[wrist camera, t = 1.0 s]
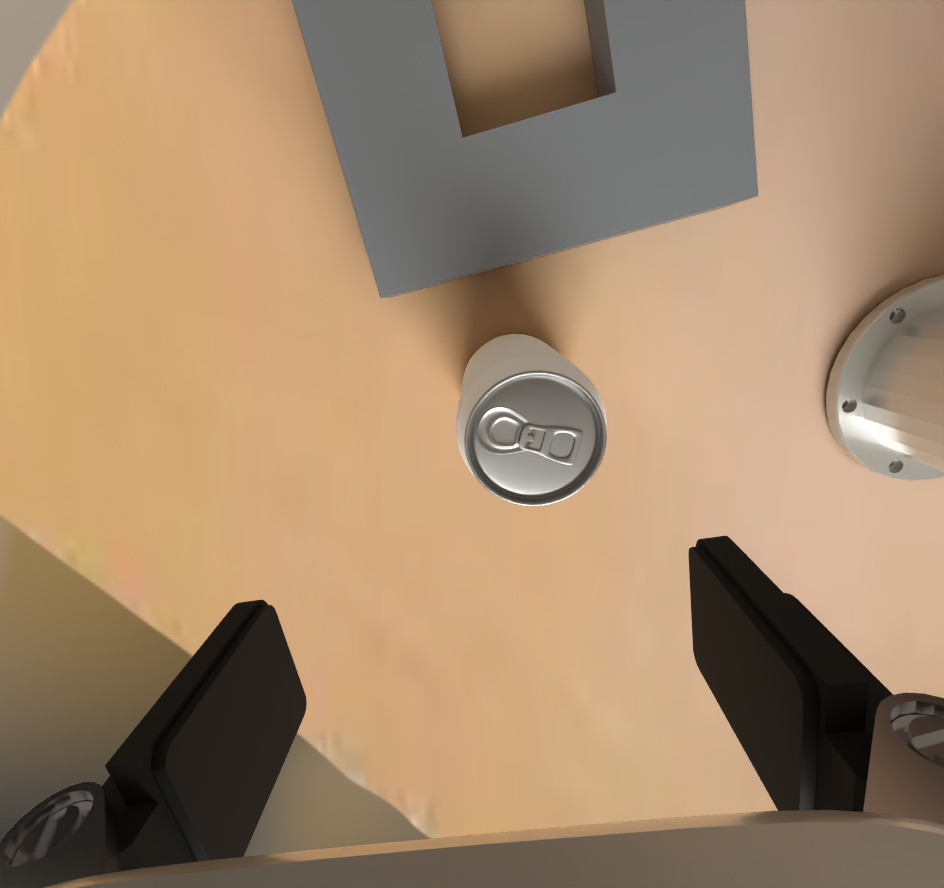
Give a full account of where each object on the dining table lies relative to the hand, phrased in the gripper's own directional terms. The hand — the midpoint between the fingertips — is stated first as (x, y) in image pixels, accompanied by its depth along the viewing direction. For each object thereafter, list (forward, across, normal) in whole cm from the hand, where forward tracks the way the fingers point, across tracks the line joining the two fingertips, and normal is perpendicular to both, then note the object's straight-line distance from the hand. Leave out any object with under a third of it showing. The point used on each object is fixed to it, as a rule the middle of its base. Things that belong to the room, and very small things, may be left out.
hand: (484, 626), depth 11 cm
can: (+21, -2, -1) cm, 22 cm away
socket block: (+21, -5, -18) cm, 28 cm away
